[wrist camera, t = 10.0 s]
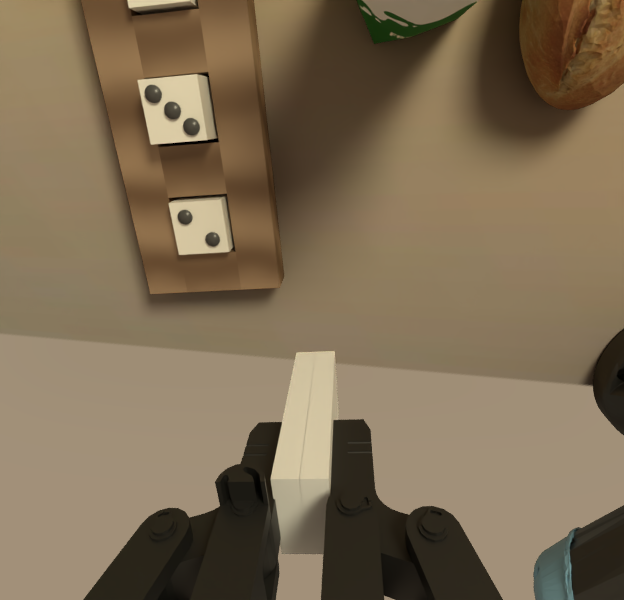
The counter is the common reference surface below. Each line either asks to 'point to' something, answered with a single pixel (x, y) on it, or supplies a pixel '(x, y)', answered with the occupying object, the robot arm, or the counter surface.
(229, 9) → the button panel
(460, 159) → the counter surface
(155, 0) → the button one
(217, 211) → the button two
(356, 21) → the counter surface
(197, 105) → the button three
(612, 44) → the bread roll
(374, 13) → the milk carton
